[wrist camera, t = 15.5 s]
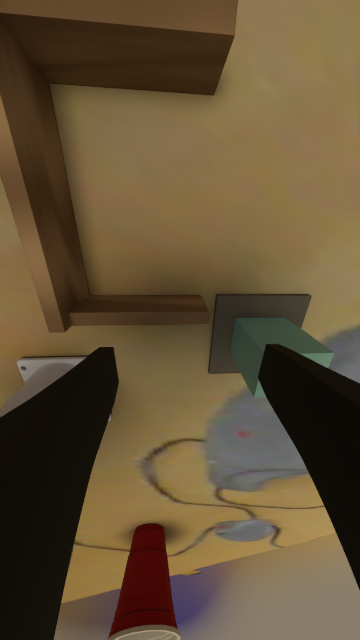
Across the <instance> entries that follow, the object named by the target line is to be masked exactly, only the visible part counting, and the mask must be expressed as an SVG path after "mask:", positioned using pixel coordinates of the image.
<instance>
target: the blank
mask: <svg viewBox="0 0 360 640" xmlns="http://www.w3.org/2000/svg"><path fill="white" fill-rule="evenodd" d="M266 344H280V345H282V346H285V347H287V348H289V349H291V350H293V351H295V352H297V353H299V354H301V355H303V356H305V357H307V358H309V359H311V360H313V361H315V362H317V363H319V364H321V365H323V366H324V367H326V368H328V366H329V364H330V362H331V360H332V357H333V355H334V352H332V351H331V350H330V349H328V348H327V347H325V346H324V345H323V344H321V343H320V342H319V341H317V340H316V339H314V338H313V337H312V336H310V335H309V334H307V333H306V332H305V331H303V330H302V329H300V328H299V327H298V326H296V325H295V324H293V323H292V322H291V321H289V320H288V319H286V318H235V324H234V331H233V337H232V343H231V349H230V354H231V355H232V357H233V359H234V361H235V363H236V365H237V367H238V369H239V370H240V372H241V374H242V376H243V378H244V380H245V382H246V384H247V385H248V387H249V389H250V391H251V393H252V395H253V397H254V398H260V397H266V396H265V393H264V391H263V389H262V387H261V384H260V382H259V379H258V374H259V370H260V366H261V362H262V358H263V354H264V350H265V346H266Z"/></svg>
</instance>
